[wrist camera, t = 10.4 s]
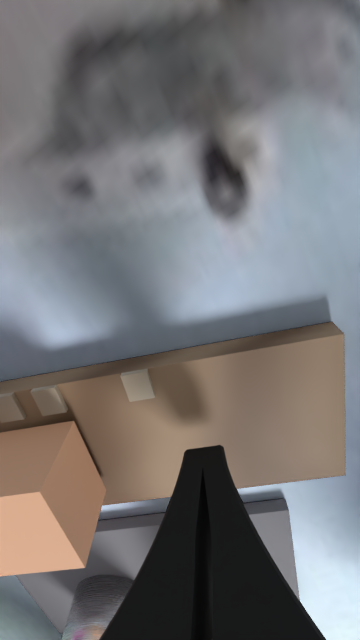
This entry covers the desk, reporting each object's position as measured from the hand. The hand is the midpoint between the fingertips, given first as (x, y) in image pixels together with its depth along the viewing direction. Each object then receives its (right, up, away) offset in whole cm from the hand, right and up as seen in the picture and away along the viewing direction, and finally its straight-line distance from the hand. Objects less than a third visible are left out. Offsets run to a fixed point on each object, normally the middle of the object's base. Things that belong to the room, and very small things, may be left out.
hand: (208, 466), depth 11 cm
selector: (-7, -1, +2) cm, 7 cm away
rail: (-4, 0, +3) cm, 5 cm away
